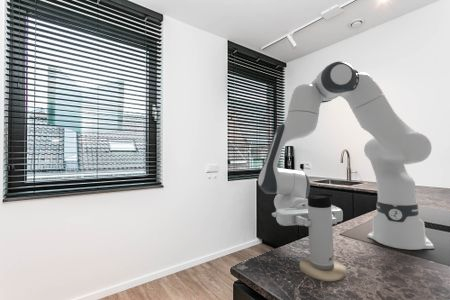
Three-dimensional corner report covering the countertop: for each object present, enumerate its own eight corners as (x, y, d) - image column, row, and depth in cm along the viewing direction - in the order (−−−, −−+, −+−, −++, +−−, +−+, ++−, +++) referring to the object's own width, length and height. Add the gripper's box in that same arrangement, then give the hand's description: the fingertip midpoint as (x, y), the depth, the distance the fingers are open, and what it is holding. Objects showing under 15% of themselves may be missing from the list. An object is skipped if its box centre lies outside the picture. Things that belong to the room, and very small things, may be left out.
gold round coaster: (308, 256, 73) (308, 253, 73) (350, 267, 66) (350, 263, 66) (292, 271, 64) (292, 268, 64) (339, 286, 56) (339, 282, 56)
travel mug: (338, 271, 61) (335, 195, 62) (312, 269, 63) (309, 195, 63) (331, 260, 68) (328, 192, 68) (308, 259, 69) (305, 192, 69)
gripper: (269, 203, 77) (285, 213, 63) (326, 199, 80) (354, 208, 66) (270, 222, 77) (286, 236, 63) (327, 218, 79) (355, 231, 66)
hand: (321, 222), depth 64 cm, fingers closed on travel mug, 6 cm apart
